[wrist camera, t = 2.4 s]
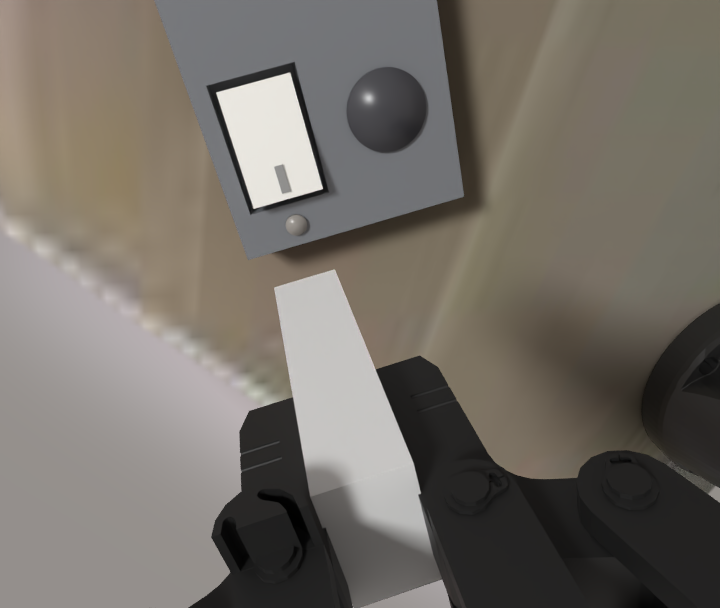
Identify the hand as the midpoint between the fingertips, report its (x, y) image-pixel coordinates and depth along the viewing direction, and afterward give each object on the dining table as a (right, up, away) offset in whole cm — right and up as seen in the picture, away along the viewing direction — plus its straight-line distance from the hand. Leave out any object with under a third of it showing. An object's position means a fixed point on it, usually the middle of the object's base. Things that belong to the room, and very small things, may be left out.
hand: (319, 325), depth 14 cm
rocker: (-3, +8, +11) cm, 14 cm away
